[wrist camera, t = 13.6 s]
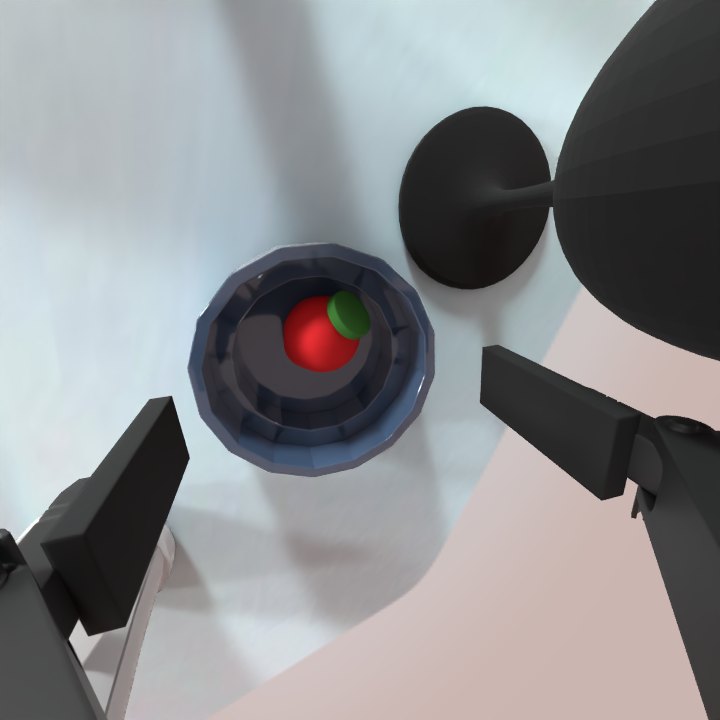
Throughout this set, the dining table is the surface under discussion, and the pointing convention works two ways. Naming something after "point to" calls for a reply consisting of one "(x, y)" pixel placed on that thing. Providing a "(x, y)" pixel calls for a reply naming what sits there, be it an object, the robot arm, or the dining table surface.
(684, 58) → the wine glass
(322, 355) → the strawberry
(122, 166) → the dining table surface
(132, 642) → the cup
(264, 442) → the bowl
